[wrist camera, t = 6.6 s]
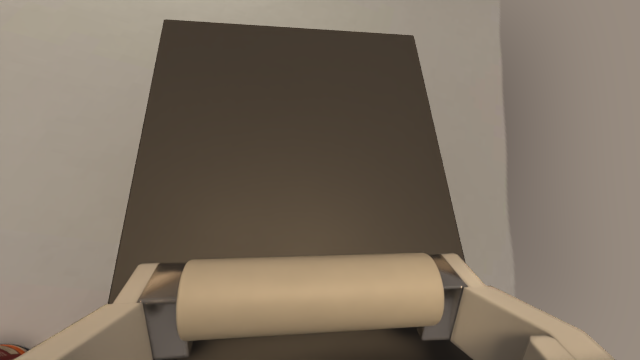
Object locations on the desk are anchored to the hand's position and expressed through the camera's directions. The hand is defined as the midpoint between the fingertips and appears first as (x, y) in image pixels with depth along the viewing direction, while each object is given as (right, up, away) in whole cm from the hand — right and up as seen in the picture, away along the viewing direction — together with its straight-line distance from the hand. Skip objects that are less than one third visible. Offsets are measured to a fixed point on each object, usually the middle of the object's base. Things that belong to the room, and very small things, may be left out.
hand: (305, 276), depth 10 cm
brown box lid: (-1, +3, +4) cm, 5 cm away
